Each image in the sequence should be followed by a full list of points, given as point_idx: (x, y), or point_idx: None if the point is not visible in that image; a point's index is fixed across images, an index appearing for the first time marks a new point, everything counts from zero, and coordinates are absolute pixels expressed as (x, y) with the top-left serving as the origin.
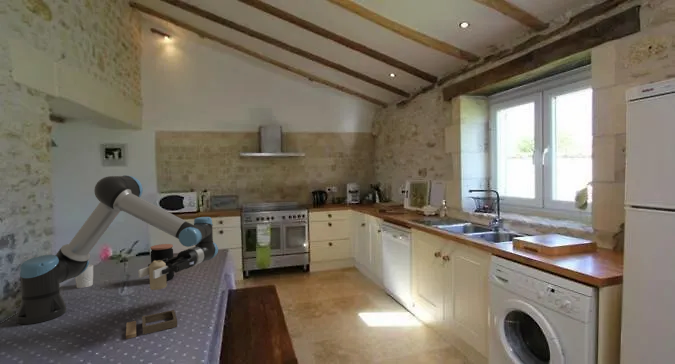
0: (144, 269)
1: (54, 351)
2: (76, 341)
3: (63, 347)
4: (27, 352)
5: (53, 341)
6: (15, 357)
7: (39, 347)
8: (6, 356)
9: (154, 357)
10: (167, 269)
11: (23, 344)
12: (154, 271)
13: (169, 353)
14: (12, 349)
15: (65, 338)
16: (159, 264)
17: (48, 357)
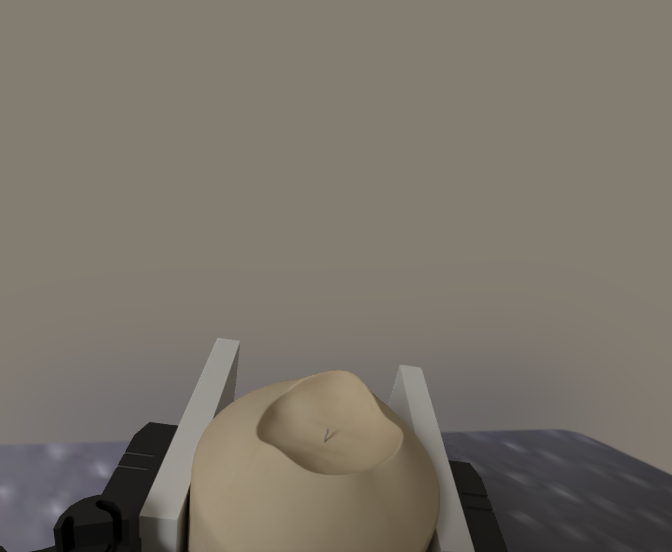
0: (406, 411)
1: (495, 463)
2: (515, 529)
3: (501, 486)
4: (565, 455)
5: (597, 522)
6: (555, 433)
7: (577, 482)
8: (586, 436)
9: (95, 447)
10: (117, 468)
11: (657, 495)
12: (218, 341)
13: (35, 472)
14: (634, 467)
15: (591, 548)
16: (244, 399)
17: (466, 435)
